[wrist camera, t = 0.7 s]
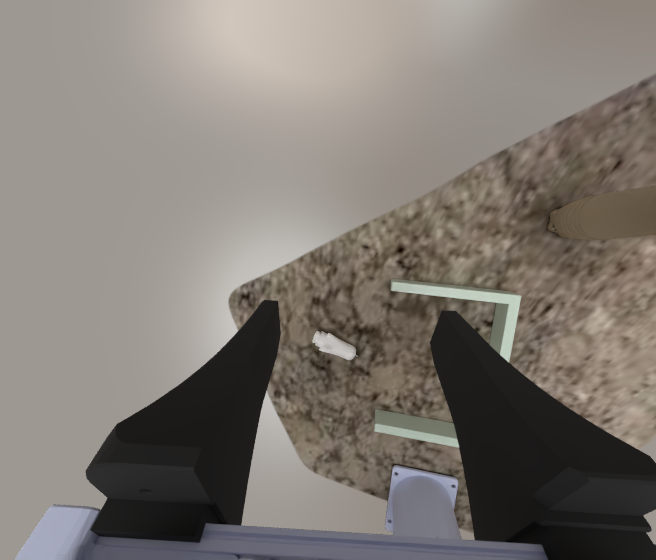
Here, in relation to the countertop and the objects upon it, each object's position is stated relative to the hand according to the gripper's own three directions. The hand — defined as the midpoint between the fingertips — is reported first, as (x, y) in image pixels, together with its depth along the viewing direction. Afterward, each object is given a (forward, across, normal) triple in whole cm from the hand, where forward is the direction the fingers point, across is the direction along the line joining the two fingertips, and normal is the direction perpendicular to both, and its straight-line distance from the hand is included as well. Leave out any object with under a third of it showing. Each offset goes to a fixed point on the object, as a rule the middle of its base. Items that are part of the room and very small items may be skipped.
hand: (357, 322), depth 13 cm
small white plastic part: (+16, 0, +19) cm, 25 cm away
